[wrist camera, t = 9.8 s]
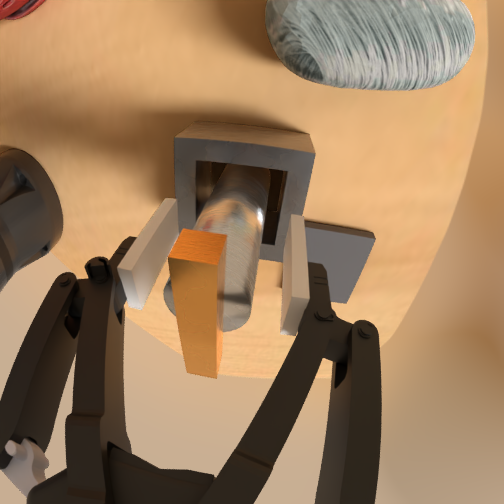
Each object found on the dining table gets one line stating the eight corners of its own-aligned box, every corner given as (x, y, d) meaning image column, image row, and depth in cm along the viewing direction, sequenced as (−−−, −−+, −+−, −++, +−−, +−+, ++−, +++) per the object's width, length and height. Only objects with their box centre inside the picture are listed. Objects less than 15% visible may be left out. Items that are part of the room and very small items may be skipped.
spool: (273, 120, 17) (311, 38, 7) (246, 16, 15) (255, -79, 5) (432, 115, 17) (519, 84, 7) (397, 23, 16) (455, -31, 6)
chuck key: (221, 214, 26) (165, 367, 14) (226, 129, 21) (134, 251, 8) (264, 220, 26) (239, 382, 13) (277, 135, 21) (257, 271, 8)
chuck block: (194, 214, 26) (178, 247, 22) (195, 121, 20) (174, 137, 16) (290, 228, 26) (290, 263, 22) (309, 134, 20) (315, 153, 16)
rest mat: (285, 289, 31) (285, 296, 30) (303, 220, 25) (303, 226, 24) (345, 297, 31) (346, 303, 30) (373, 233, 25) (375, 239, 24)
